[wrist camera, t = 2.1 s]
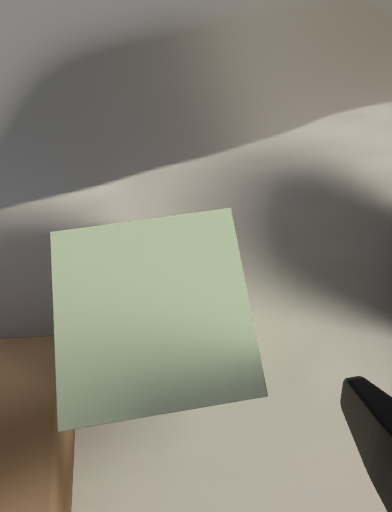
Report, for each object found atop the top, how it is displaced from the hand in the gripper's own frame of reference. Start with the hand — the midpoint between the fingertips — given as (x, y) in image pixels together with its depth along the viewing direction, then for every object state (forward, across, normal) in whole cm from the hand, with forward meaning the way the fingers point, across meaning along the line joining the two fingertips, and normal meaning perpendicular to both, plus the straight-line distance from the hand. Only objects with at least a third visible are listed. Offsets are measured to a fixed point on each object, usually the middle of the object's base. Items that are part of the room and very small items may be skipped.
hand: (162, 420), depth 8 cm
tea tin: (+10, 0, +6) cm, 11 cm away
